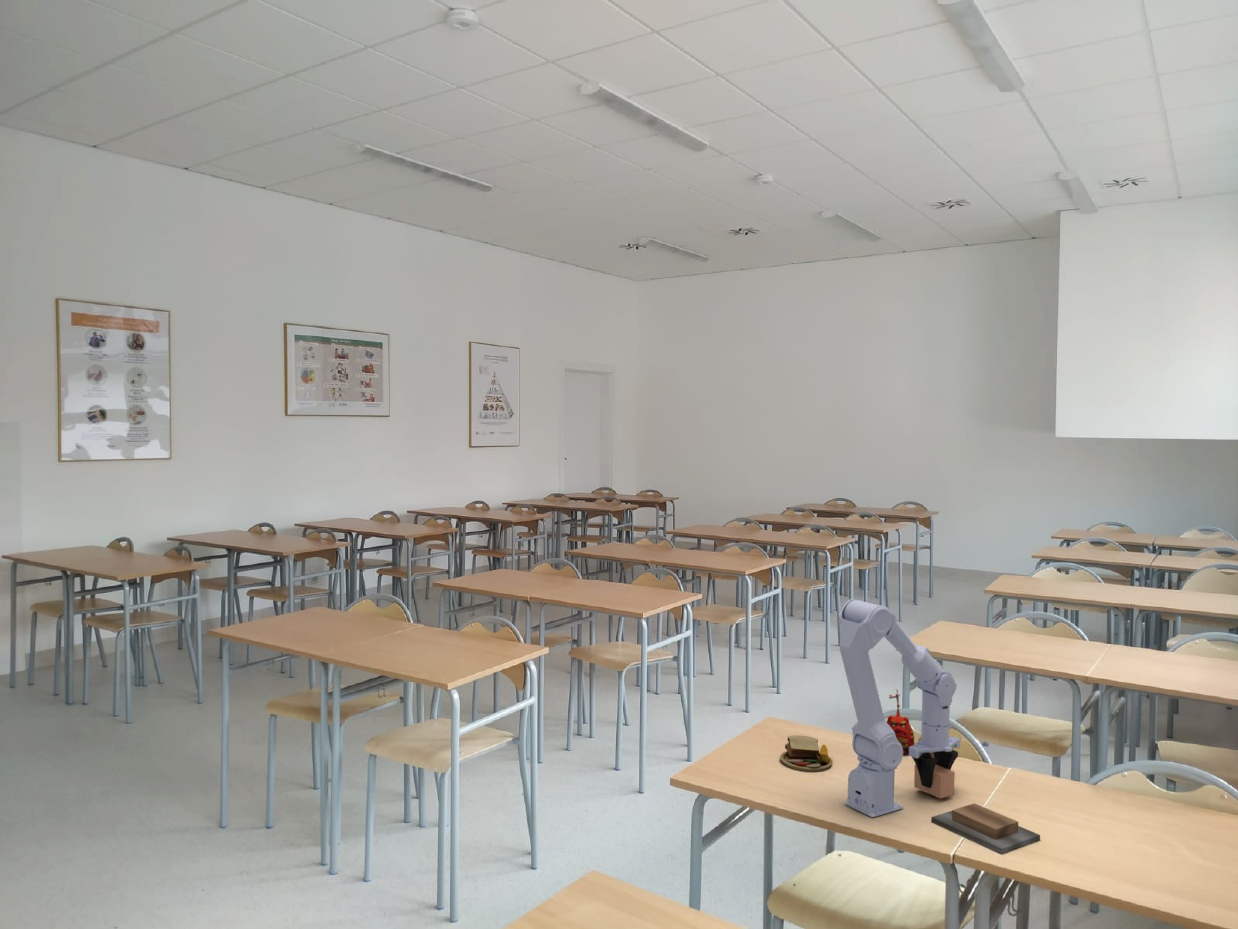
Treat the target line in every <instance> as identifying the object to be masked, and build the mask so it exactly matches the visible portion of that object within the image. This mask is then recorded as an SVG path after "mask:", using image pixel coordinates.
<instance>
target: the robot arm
mask: <svg viewBox="0 0 1238 929" xmlns="http://www.w3.org/2000/svg"><path fill="white" fill-rule="evenodd" d="M837 616H838V620H839V624H840V638H839V651H840V656H841V659H842V662H843V667H844V672H845V676H846V679H847V683H848V687H849V690H850V695H851V699H852V704H853V707H854V711H855V715H856V719H857V722H856V723H855V724H854V725H853V726H852V727H851V731H852V743H851V745H852V750H853V752H854V753H855V754H856V755H857V761H858V762H859V763H858V765H857V766H856V767H855V768H854V769H852V770H851V771H850V772H849V774H848V778H847V800H846V801H844V805H846V806H848V807H850V808H853V809H854V810H857V811H858V812H861V813H862V814H864V815H867V816H868V817H871V818H875V817H879V816H882V815H886V814H889V813H893V812H895V811H900V810H902V809H904V806H903V805H902V804H900V803H897V802H895V770H897V769H898V766H900V764H901V762H902V761H903V760H902V759H903V757H904V755H903V748H902V745H901V744H900V742H899V741H898V740H897V738H896V735H895V732H894V731H893V730H892V728H891V727H890V726H889V725H888V724H887V720H885V719H886V718H885V715H884V712H883V706H882V704H881V700H880V694H879V691H878V688H877V687H878V686H877V684H876V679H875V675H874V672H873V671H874V670H873V668H872V663H871V659H870V654H869V651H870V650H872V649H874V648H875V646H877V644H878V643H879V642H880V641H881V640H882V639H883V638H885V639H886V641H888V642H889V643H890V644H891V645H892V646H893V648H895V649H896V650H897V651H898V652H899V654H901V663H902V664H903V665H904V667H905V669H907V670H908V671H909V673H910V674H912V676H913V677H914V678H915V683H916V687H917V688H918V689H920V691H922V694H921V695H922V697H921V699H922V700H921V702H922V703H921V732H920V733H921V736H920V737H921V740H920V741H919V742H918V741H917V742H916V743H915V745H913V746H911V747H909V755H908V756H909V757H911V758H912V760H913V762H914V763H915V764H914V765H916V766H917V768H918V772H919V775H920V779H921V784H922V785H923V786H925V787H927V788H931V786H932V781H933V772H934V768H935V765H939V766H941V767H944V768H946V769H949V770H951V769H952V767H953V765H954V763H955V761H956V760H957V758H959V752H958V751H956V750H955V749H954V750H953V748H956V749H959V748H960V747H961V739H960V738H958V737H955V736H950V711H951V710H950V709H951V708H950V707H951V706H950V705H951V704H952V703H953V696H954V694H955V692H956V690H957V683H956V680H955V678H954V676H953V675H952V673H950V672H948V671H945V670H943V668H942V667H941V666H942V665H941V663H940V662H939V661H936V660H935V658H933V657H932V656H931V654H930V652H931V651H930V649H929V648H928V647H927V646H924V645H923V646H922V645H918V644H917V645H915V644H914V642H913V641H912V639H911V638H910V637H909V636H908V634H907V633H906V632H905V630H904V629H903V628H902V626H901V624H900V623H899V622H898V621H897V615H896V614H894V613H893V612H892V611H891V610H890V608H889V607H887V606H886V605H883V604H882V605H881V604H880V605H879V604H875V603H870V602H867V601H863V600H860V599H859V598H858V599H857V598H851V599H849V600H847V601H846V602H845V603H844V605H843V606H842V608H841V610H840V611H839V613H838V615H837ZM930 753H933V754H934V758H932V757H931V755H930ZM951 771H952V770H951Z"/></svg>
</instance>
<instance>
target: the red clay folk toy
mask: <svg viewBox="0 0 1238 929" xmlns="http://www.w3.org/2000/svg"><path fill="white" fill-rule="evenodd" d="M899 696H901V694H899V690H898V689H896V693H895V695H892V694H889V697H888V698H889V699H896V706H897V707H896V708H897V709H896V714H895V715H894V716H893V715H888V717H887V720H886V722H887V724H888V725H889V726H890V727H891V728H892V730H893V731H894V732H895V735H896V738H897V740H898V741H899V742H900V744H901V745H902V748H903V756H905V755H906V754H909V747H911V746H913V745H915V744H916V743H915V735H914V730H913V728H912V725H911V724H910V723H909V718H908V717H907V716H901V712H900V707H901V705H900V704H899V702H900V699H899V698H900V697H899ZM906 756H907V755H906Z"/></svg>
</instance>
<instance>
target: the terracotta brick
mask: <svg viewBox="0 0 1238 929" xmlns="http://www.w3.org/2000/svg"><path fill="white" fill-rule="evenodd" d="M955 775H956V774H955V771H954V770H949V769H946V768H944V767H941V766H939V765H935V768H934V772H933V781H932V786H931V788H927V787H925V786H923V785H922V784H921V779H920V775H919V772H918V768H917V766H916V764H914V776H913V777H914V780H913V782H914V783H913V785H914V786H913V788H915V789H918V790H920V791H922V792H925V793H927V794H930V795H931V796H934V797H935V798H938V799H944V798H947V797H950V796H954V795H955Z"/></svg>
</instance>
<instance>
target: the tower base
mask: <svg viewBox="0 0 1238 929" xmlns="http://www.w3.org/2000/svg"><path fill="white" fill-rule="evenodd" d="M930 820H931V822H932V823H933V824H935V825H937V826H938V827H939V826H940V827H942V828H944V829H946V830H949V831H950V832H953V833H955V834H957V835H958V836H961V837H964V838H966V839H967V840H970V841H972V842H974V843H976V844H979V845H980V846H983V847H985V848H987V849H989V850H992V851H994V852H996V853H998V854H1000V855H1003V854H1006V853H1008V852H1011V851H1014V850H1017V849H1019V848H1022V847H1025V846H1028V845H1030V844H1033V843H1037V842H1039V841H1041V834H1039V833H1036V832H1035V831H1031V830H1029V829H1027V828H1024V827H1022V826H1020V825H1019V820H1018V821H1017V820H1016V819H1013V818H1010V817H1009V816H1007V815H1004V814H1001V813H998V812H996V811H993V810H992V809H989V808H986V807H985V806H981V805H979V804H976V803H972V804H968V805H964V806H961V807H958V808H955V809H952V810H950V811H946V812H943V813H939V814H937V815H933V816H931V819H930Z"/></svg>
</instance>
